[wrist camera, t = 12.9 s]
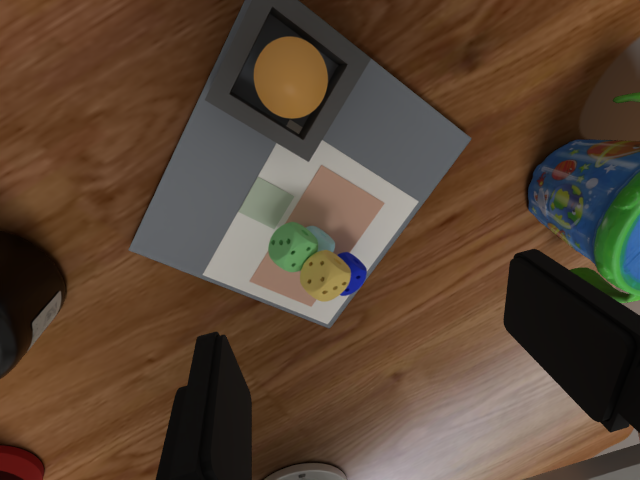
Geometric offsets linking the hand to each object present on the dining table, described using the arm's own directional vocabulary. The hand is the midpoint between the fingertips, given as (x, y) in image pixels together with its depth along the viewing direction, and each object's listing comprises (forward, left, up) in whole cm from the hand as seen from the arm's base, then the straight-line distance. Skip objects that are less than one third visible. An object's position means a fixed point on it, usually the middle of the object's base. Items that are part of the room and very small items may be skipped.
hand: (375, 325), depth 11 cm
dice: (-3, +4, -16) cm, 17 cm away
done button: (+5, -5, -15) cm, 16 cm away
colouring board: (0, +1, -17) cm, 17 cm away
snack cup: (-20, -11, -17) cm, 29 cm away
